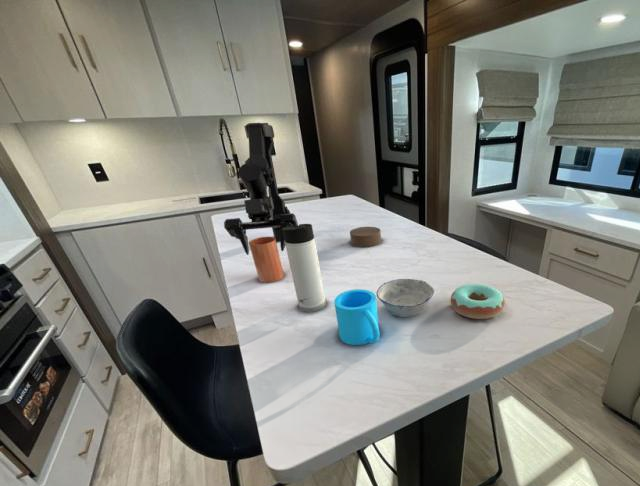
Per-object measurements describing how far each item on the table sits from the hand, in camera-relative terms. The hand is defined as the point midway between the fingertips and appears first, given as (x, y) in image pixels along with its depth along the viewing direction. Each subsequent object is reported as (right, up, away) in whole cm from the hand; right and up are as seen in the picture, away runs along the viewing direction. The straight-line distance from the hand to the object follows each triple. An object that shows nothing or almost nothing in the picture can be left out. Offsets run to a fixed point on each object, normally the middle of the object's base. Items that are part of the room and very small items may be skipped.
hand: (264, 252), depth 88 cm
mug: (+30, -21, -23) cm, 43 cm away
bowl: (+39, -15, -14) cm, 44 cm away
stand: (+25, +8, +28) cm, 38 cm away
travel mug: (+16, -15, -11) cm, 25 cm away
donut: (+55, -15, -15) cm, 59 cm away
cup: (0, -7, +4) cm, 8 cm away
